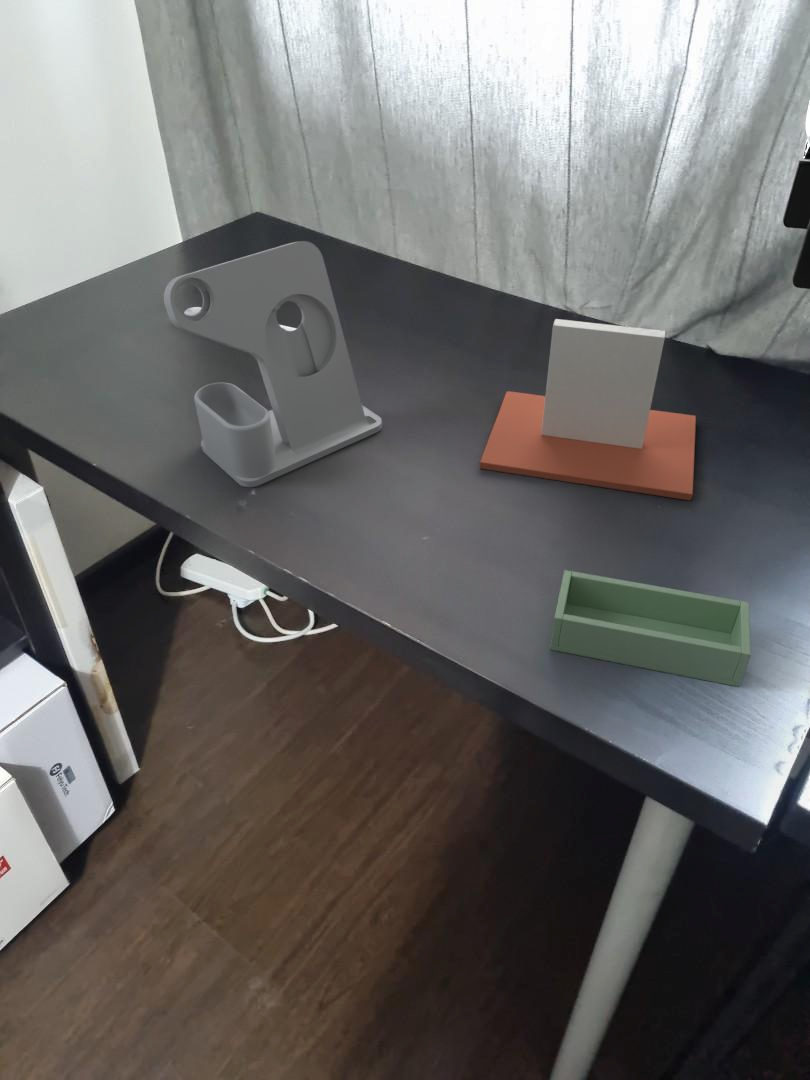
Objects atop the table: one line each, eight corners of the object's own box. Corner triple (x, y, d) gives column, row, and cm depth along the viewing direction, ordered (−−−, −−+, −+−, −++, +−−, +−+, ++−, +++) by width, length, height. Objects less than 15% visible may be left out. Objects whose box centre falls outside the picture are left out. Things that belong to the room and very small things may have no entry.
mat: (694, 422, 87) (696, 415, 86) (691, 501, 76) (692, 494, 76) (506, 397, 91) (506, 390, 90) (479, 468, 81) (479, 462, 80)
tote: (737, 634, 64) (749, 602, 61) (738, 687, 60) (751, 654, 57) (559, 601, 67) (564, 569, 64) (549, 649, 63) (554, 617, 61)
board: (643, 441, 83) (665, 330, 75) (642, 449, 82) (664, 337, 74) (543, 427, 85) (555, 318, 77) (541, 435, 84) (552, 325, 76)
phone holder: (243, 492, 78) (211, 315, 67) (192, 446, 85) (155, 276, 73) (387, 427, 87) (381, 259, 75) (331, 390, 93) (318, 229, 81)
